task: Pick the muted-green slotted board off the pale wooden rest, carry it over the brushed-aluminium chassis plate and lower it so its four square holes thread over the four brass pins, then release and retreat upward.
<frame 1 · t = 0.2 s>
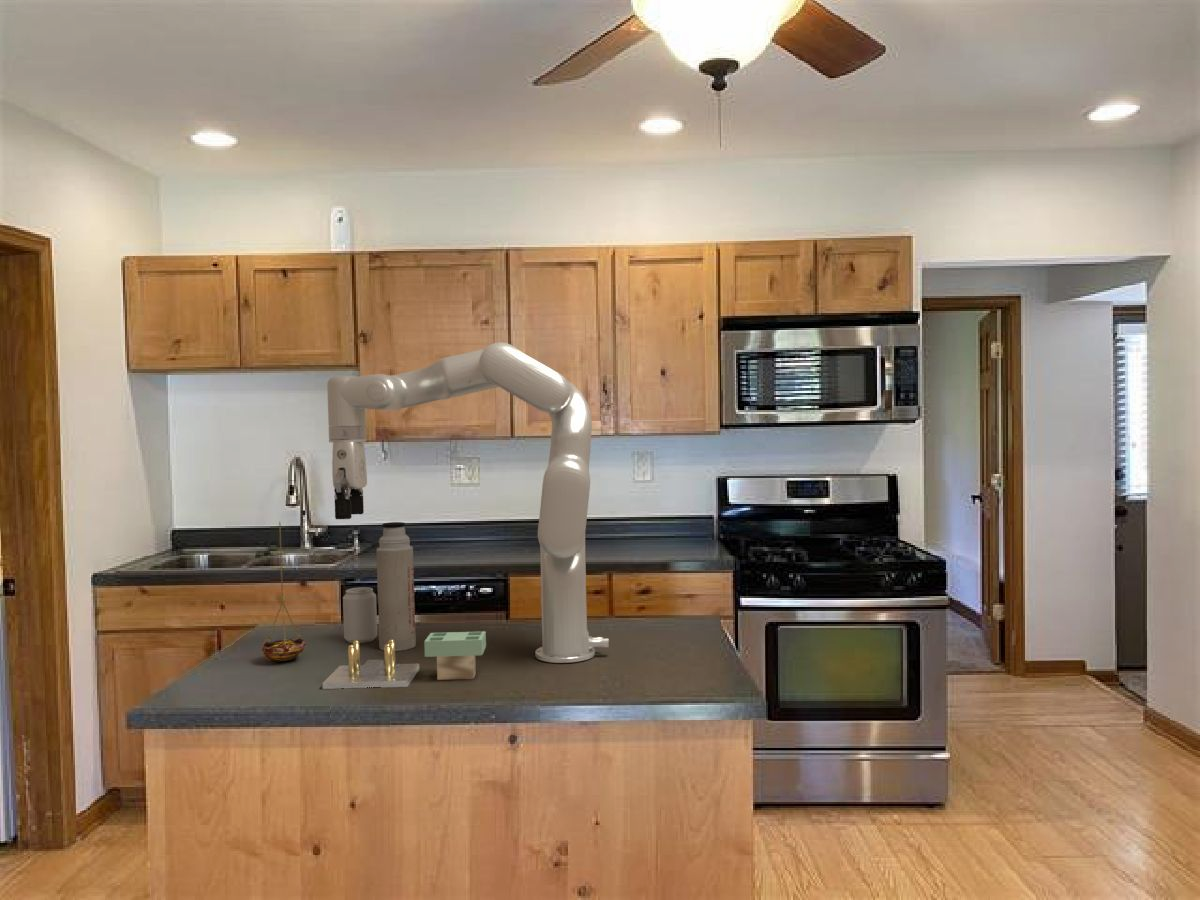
hand: (349, 516, 187), 31 cm above the countertop, tool pointing down, fingers open, 9 cm apart
chassis: (372, 678, 175), on the countertop
thermos bottle: (397, 647, 201), on the countertop
bird feeder: (284, 662, 190), on the countertop
board: (456, 651, 175), point 5 cm above the countertop, touching rest
can: (360, 641, 208), on the countertop
rest: (456, 676, 175), on the countertop
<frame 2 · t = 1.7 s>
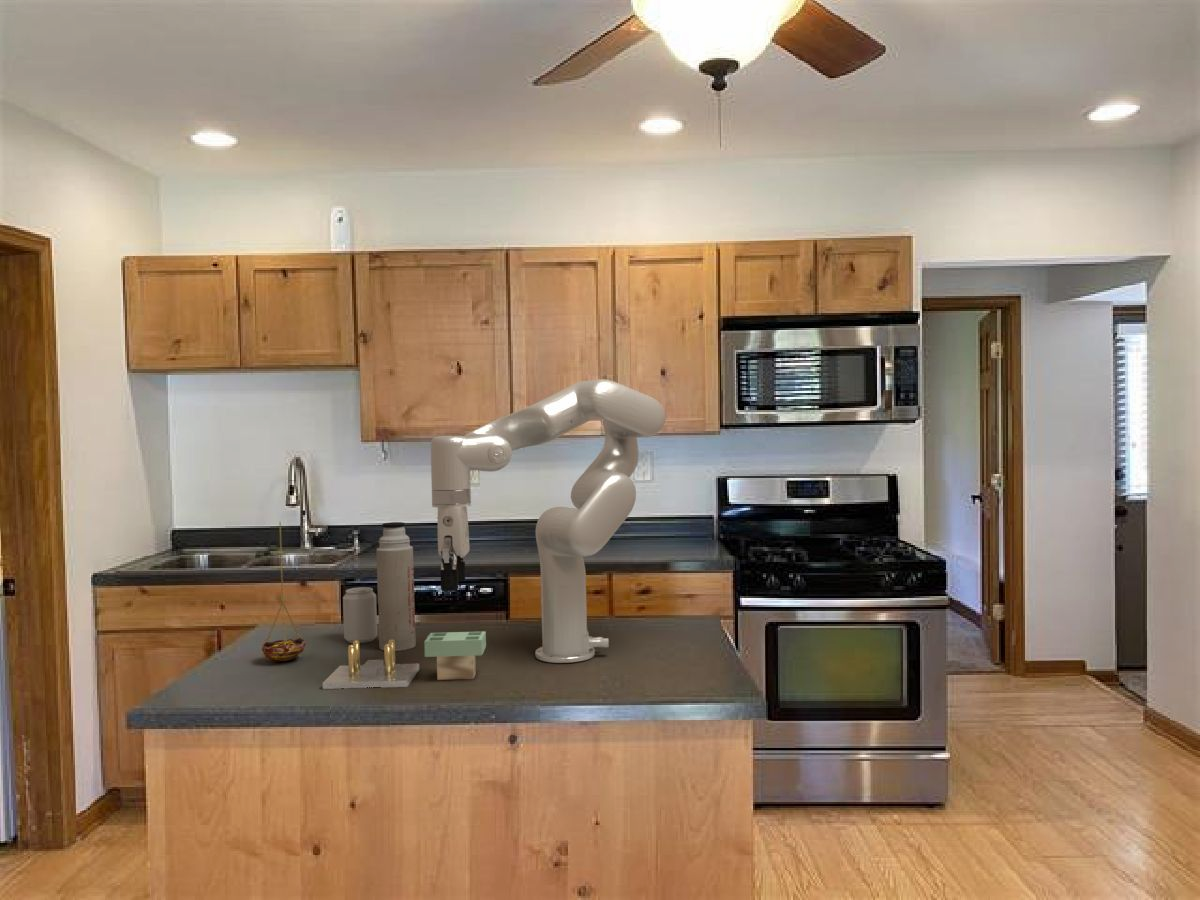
hand: (453, 585, 175), 18 cm above the countertop, tool pointing down, fingers open, 9 cm apart
nothing on the countertop moved.
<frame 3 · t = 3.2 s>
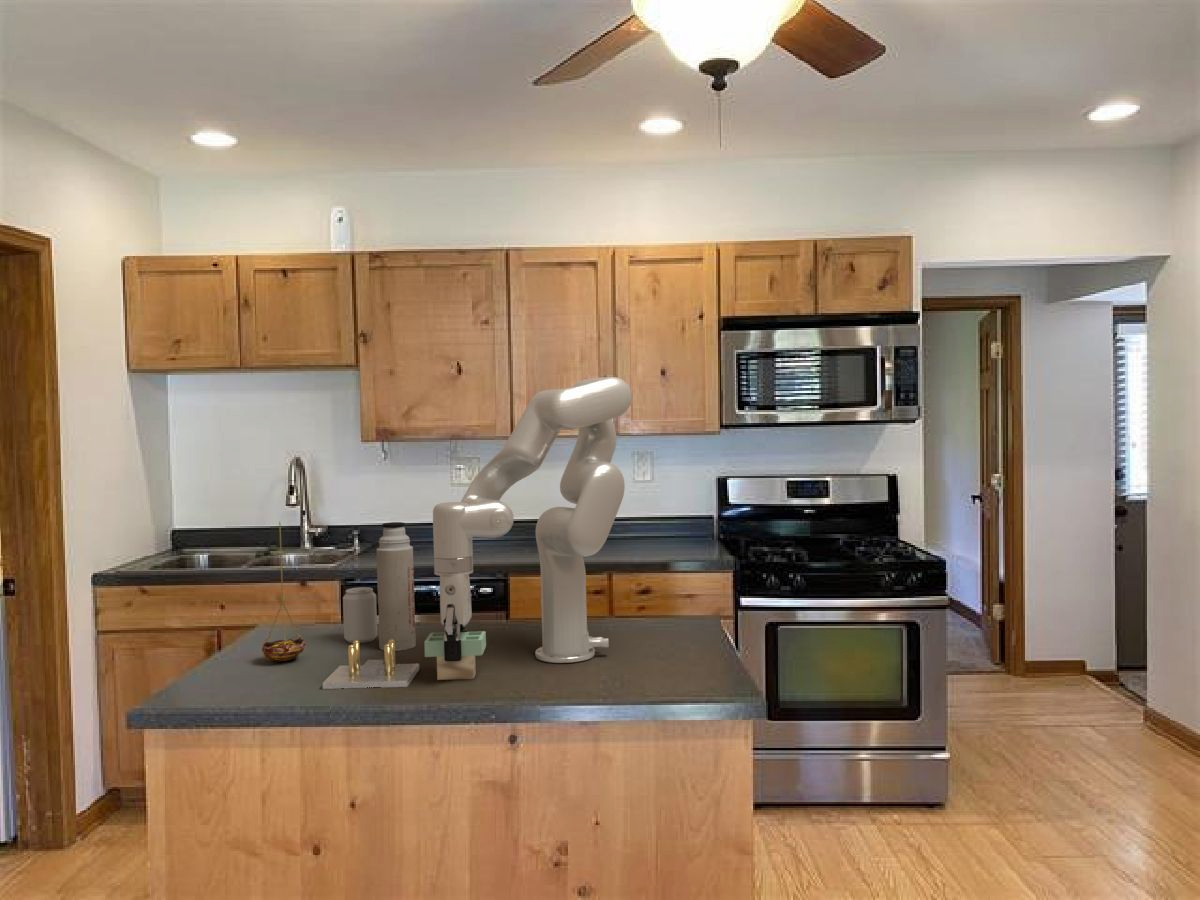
hand: (456, 654, 175), 4 cm above the countertop, tool pointing down, fingers closed on board, 7 cm apart
board: (456, 651, 175), point 5 cm above the countertop, touching gripper, rest
everything else where it was.
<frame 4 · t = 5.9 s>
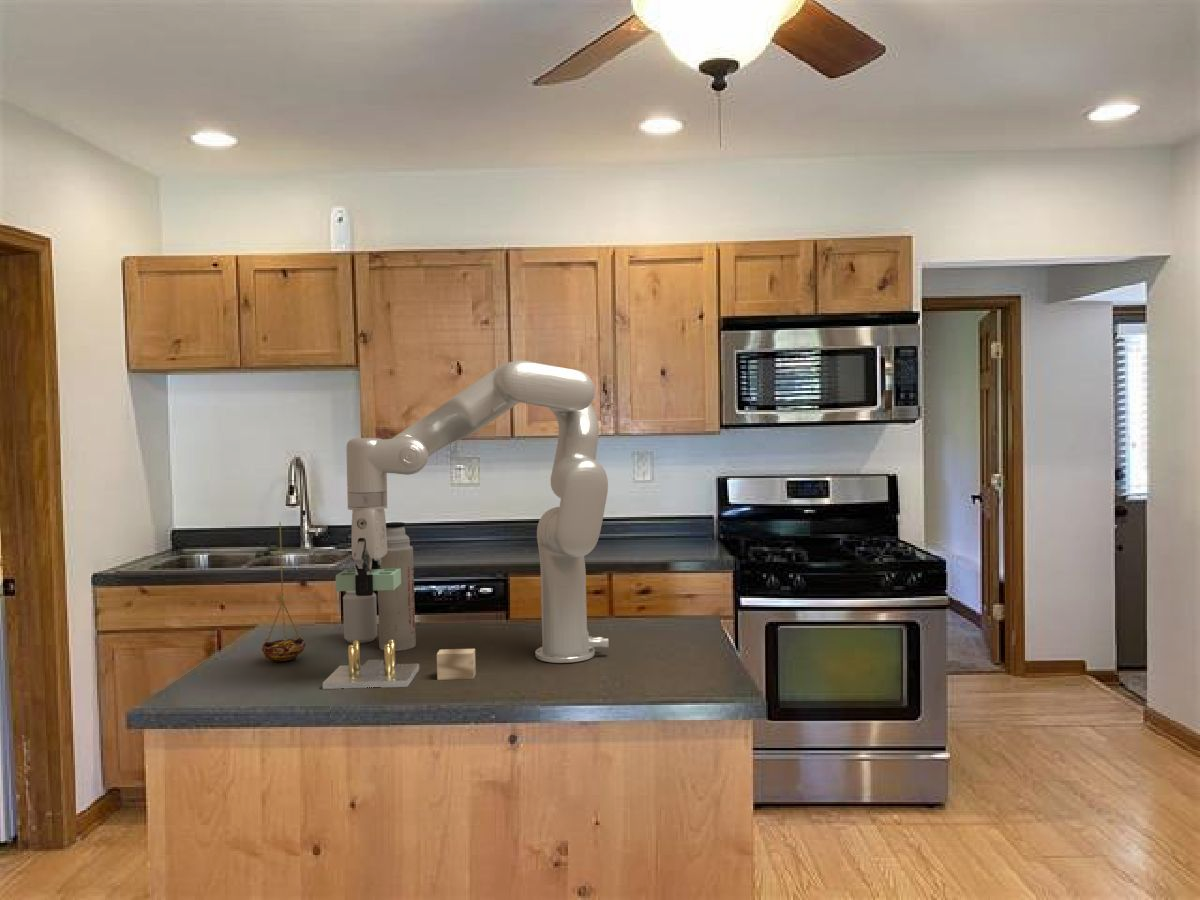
hand: (369, 591, 175), 17 cm above the countertop, tool pointing down, fingers closed on board, 7 cm apart
board: (369, 587, 175), point 18 cm above the countertop, touching gripper
everything else where it was.
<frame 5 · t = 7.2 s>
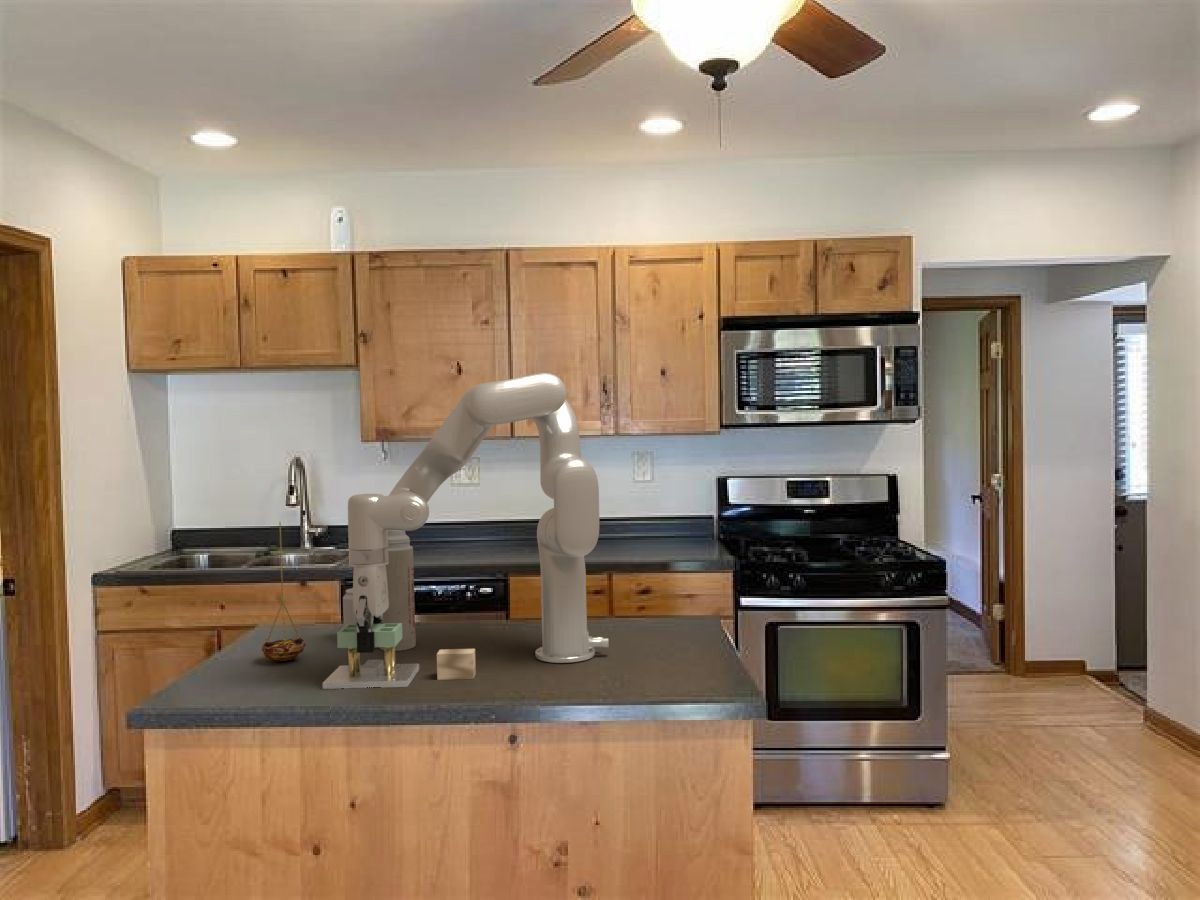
hand: (370, 646, 175), 6 cm above the countertop, tool pointing down, fingers closed on board, 7 cm apart
board: (370, 642, 175), point 7 cm above the countertop, touching gripper
everything else where it was.
when the fingers open (3 cm above the countertop, at t = 8.3 s): board stays where it is, resting on chassis.
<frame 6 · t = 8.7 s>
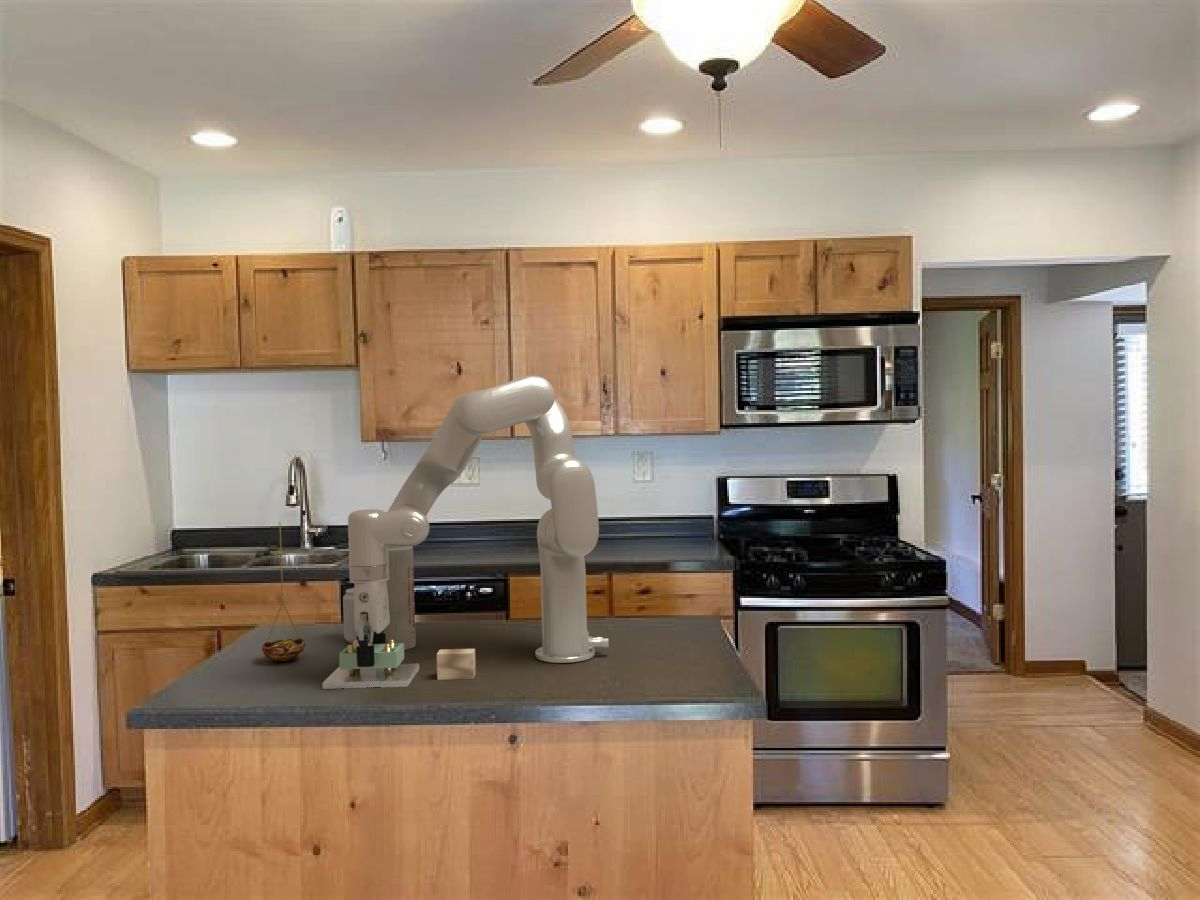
hand: (372, 659, 175), 4 cm above the countertop, tool pointing down, fingers open, 9 cm apart
board: (372, 663, 175), point 3 cm above the countertop, touching chassis
everything else where it was.
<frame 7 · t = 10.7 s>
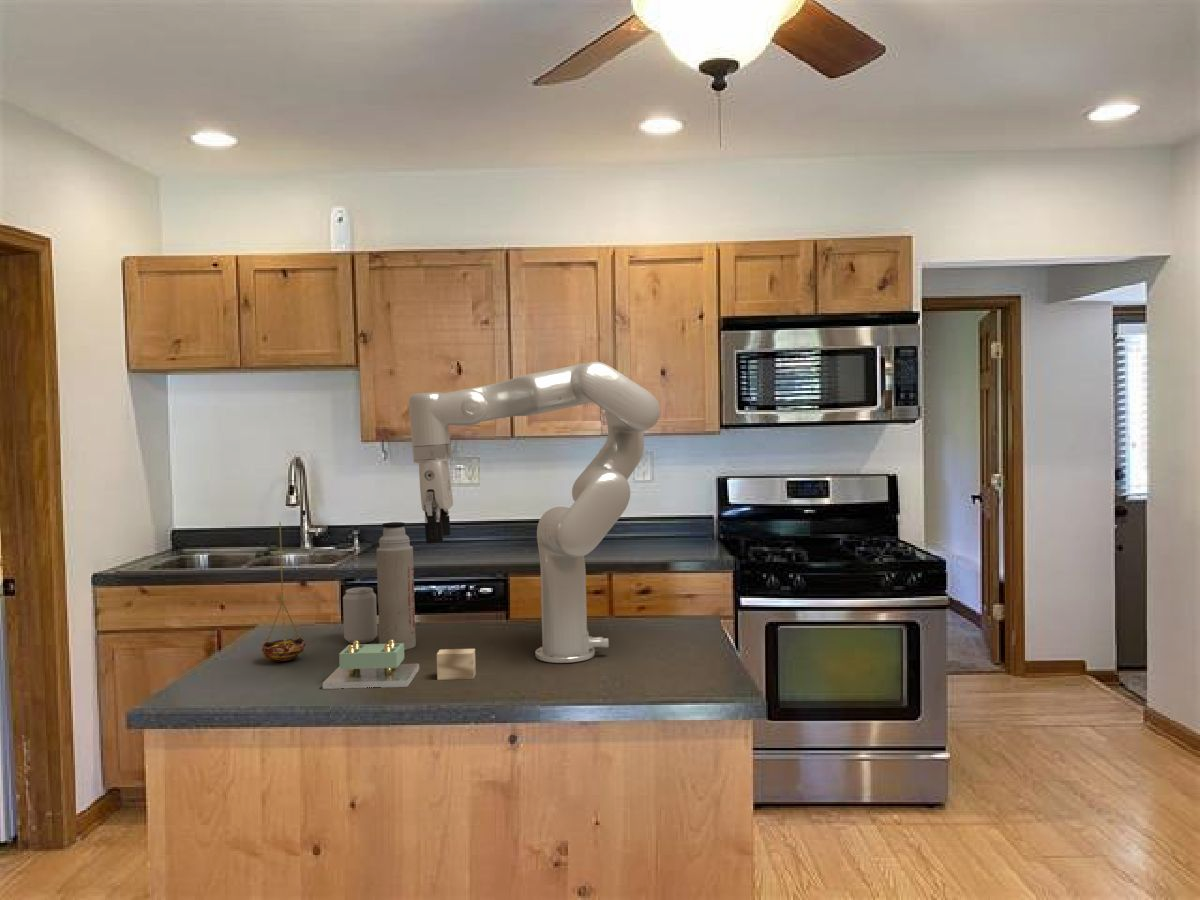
hand: (438, 539, 179), 27 cm above the countertop, tool pointing down, fingers open, 9 cm apart
nothing on the countertop moved.
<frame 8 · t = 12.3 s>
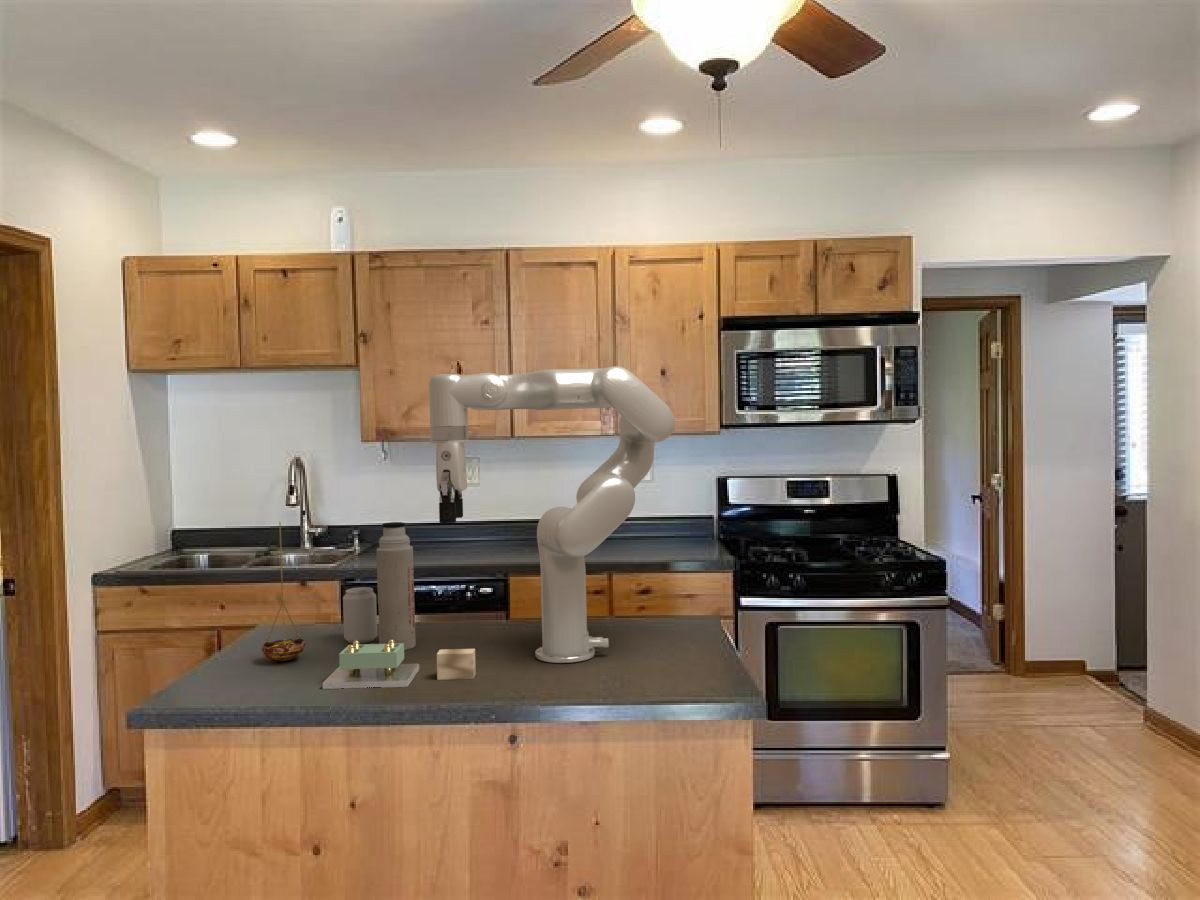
hand: (451, 520, 180), 30 cm above the countertop, tool pointing down, fingers open, 9 cm apart
nothing on the countertop moved.
at the end: board 0.1 cm off-centre on the chassis, point 3.0 cm above the chassis's base; board tilted 0°; the gripper is holding nothing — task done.
